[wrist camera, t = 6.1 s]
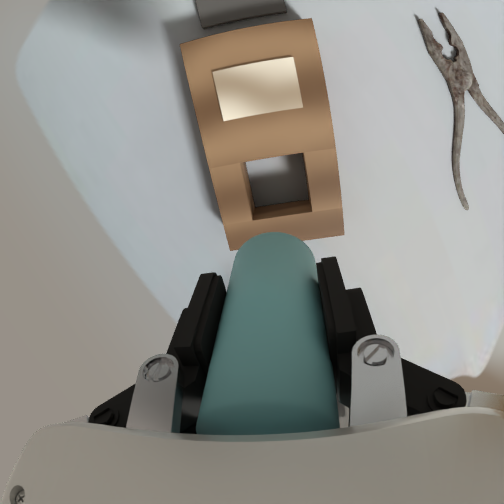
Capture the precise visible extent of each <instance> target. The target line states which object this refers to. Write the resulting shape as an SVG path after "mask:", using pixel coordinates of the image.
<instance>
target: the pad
mask: <svg viewBox="0 0 504 504" xmlns="http://www.w3.org/2000/svg"><path fill="white" fill-rule="evenodd" d="M196 4H197V8H198V13H199V17H200V21H201V26H202V28H203V29H205V28H209V27H213V26H217V25H221V24H225V23H230V22H235V21H239V20H244V19H249V18H255V17H261V16H267V15H273V14H280V13H286V12H287V11H286V7H285V3H284V0H196Z"/></svg>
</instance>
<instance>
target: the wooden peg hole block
mask: <svg viewBox="0 0 504 504" xmlns="http://www.w3.org/2000/svg"><path fill="white" fill-rule="evenodd" d="M180 48H181V52H182V57H183V61H184V66H185V70H186V74H187V79H188V83H189V87H190V91H191V96H192V100H193V104H194V108H195V113H196V117H197V121H198V125H199V129H200V133H201V138H202V142H203V146H204V150H205V154H206V158H207V162H208V166H209V170H210V174H211V178H212V182H213V186H214V190H215V194H216V198H217V202H218V206H219V210H220V214H221V218H222V221H223V225H224V229H225V233H226V237H227V241H228V244H229V248H230V251H233V250H239V249H240V247H241V246H242V245H243V244H244V243H245V242H246V241H248V240H249V239H251V238H252V237H254V236H257V235H259V234H263V233H267V232H281V233H286V234H290V235H292V236H295V237H297V238H298V239H300V240H301V241H304V240H311V239H319V238H326V237H333V236H341V235H344V223H343V211H342V200H341V189H340V180H339V171H338V162H337V154H336V147H335V139H334V132H333V125H332V119H331V112H330V106H329V100H328V94H327V89H326V83H325V78H324V72H323V67H322V62H321V57H320V52H319V48H318V43H317V39H316V34H315V30H314V25H313V21H312V18H310V19H300V20H291V21H283V22H276V23H270V24H263V25H258V26H252V27H247V28H242V29H237V30H232V31H228V32H223V33H219V34H215V35H211V36H207V37H203V38H200V39H196V40H192V41H189V42H185V43H182V44H180ZM297 153H302V155H303V161H304V167H305V174H306V180H307V187H308V194H309V200H302V201H295V202H288V203H281V204H275V205H268V206H262V207H255V205H254V201H253V196H252V191H251V186H250V182H249V177H248V172H247V168H246V163H245V162H247V161H253V160H259V159H264V158H271V157H277V156H283V155H290V154H297Z"/></svg>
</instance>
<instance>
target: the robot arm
mask: <svg viewBox="0 0 504 504" xmlns="http://www.w3.org/2000/svg"><path fill="white" fill-rule="evenodd" d="M316 267H317V277H318V285H319V291H320V297H321V303H322V309H323V315H324V322H325V328H326V335H327V342H328V349H329V356H330V360H331V363H332V367H333V374H334V381H335V389H336V394H337V401H338V402H340V403H341V404H343V405H344V406H346V407H348V408H349V419H348V427H345V428H338V429H330V430H321V431H311V432H300V433H286V434H267V435H202V434H197V432H196V424H197V419H198V415H199V410H200V406H201V401H202V397H203V392H204V388H205V384H206V379H207V375H208V370H209V366H210V362H211V357H212V353H213V349H214V344H215V340H216V336H217V331H218V327H219V323H220V319H221V314H222V310H223V306H224V302H225V297H226V289H225V286H224V282H223V279H222V277H221V275H219V276H217V274H216V273H215V272H214V273H205V274H201V275H200V277H199V280H198V282H197V285H196V287H195V290H194V293H193V295H192V298H191V301H190V303H189V306H188V308H185V309H184V310H183V311H182V314H181V316H180V319H179V321H178V324H177V327H176V329H175V332H174V335H173V337H172V340H171V343H170V345H169V348H168V351H167V353H166V354H158V355H155V356H153V357H151V358H149V359H147V360H146V361H145V362H144V363H143V364H142V366H141V367H140V370H139V372H138V376H137V380H136V384H134V385H133V386H131V387H129V388H128V389H126V390H124V391H123V392H121V393H119V394H118V395H116V396H115V397H113V398H111V399H109V400H108V401H106V402H105V403H103V404H101V405H100V406H98V407H97V408H95V409H94V411H93V412H92V413H91V415H90V417H88V416H87V415H85V416H82V417H79V418H76V419H73V420H70V421H67V422H64V423H59V424H53V425H48V426H45V427H43V428H41V429H39V430H38V431H36V432H35V433H34V434H33V435H32V437H31V438H30V439H29V441H28V442H27V444H26V445H25V447H24V449H23V450H22V452H21V454H20V456H19V458H18V460H17V462H16V464H15V467H14V469H13V471H12V473H11V476H10V478H9V480H8V483H7V486H6V488H5V491H4V494H3V497H2V499H1V502H0V504H504V395H499V394H493V393H487V392H481V391H475V390H472V393H467V392H465V391H464V389H463V388H462V387H461V386H460V385H459V384H457V383H456V382H454V381H452V380H449V379H447V378H445V377H442V376H440V375H438V374H436V373H433V372H431V371H429V370H427V369H425V368H422V367H420V366H418V365H416V364H413V363H411V362H409V361H407V360H405V359H402V358H401V357H400V350H399V347H398V345H397V343H396V342H395V341H394V340H393V339H391V338H389V337H387V336H384V335H377V334H376V331H375V328H374V324H373V321H372V318H371V315H370V312H369V309H368V306H367V303H366V300H365V297H364V295H363V292H362V289H361V288H355V289H348V290H345V286H344V283H343V279H342V276H341V272H340V269H339V266H338V262H337V259H336V257H328V258H321V262H320V263H316Z"/></svg>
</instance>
